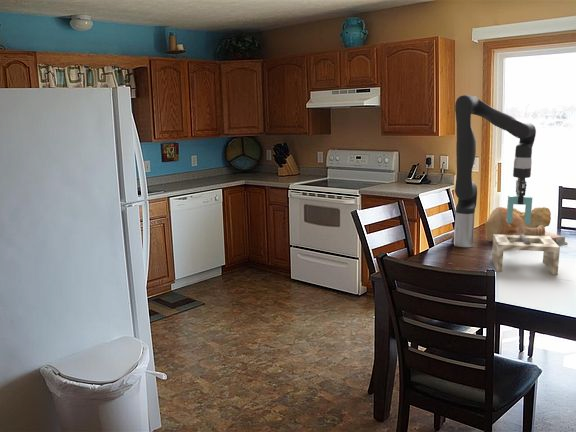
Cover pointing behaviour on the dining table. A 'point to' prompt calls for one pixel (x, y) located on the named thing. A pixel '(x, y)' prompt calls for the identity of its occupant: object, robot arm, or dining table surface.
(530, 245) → the shelf
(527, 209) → the teal arch block
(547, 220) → the rough brown rock
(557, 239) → the packaged product
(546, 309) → the dining table surface
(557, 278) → the dining table surface
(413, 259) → the dining table surface
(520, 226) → the orange-brown rounded sculpted piece
